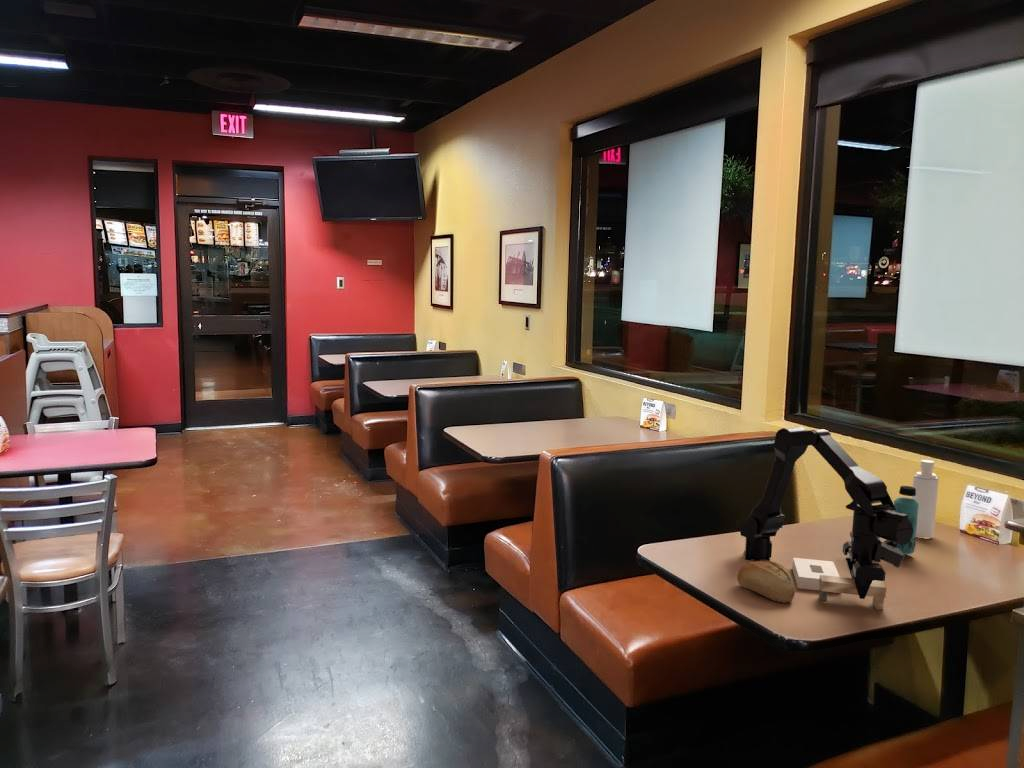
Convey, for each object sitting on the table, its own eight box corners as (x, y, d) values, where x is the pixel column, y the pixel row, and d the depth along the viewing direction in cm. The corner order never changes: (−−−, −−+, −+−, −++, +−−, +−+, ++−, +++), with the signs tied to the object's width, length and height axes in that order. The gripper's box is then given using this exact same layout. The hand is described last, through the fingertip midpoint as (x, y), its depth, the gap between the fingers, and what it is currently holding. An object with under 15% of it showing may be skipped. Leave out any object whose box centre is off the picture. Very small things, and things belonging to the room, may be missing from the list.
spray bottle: (922, 540, 228) (929, 459, 225) (903, 533, 234) (910, 454, 231) (938, 538, 231) (945, 457, 227) (919, 531, 237) (926, 452, 234)
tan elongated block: (820, 603, 181) (822, 580, 180) (818, 596, 185) (819, 574, 184) (884, 610, 178) (886, 587, 177) (880, 603, 181) (882, 581, 181)
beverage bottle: (883, 551, 218) (889, 483, 215) (906, 551, 218) (911, 483, 216) (897, 559, 211) (903, 489, 209) (919, 559, 212) (926, 489, 209)
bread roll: (750, 580, 195) (752, 550, 194) (804, 599, 183) (806, 567, 182) (727, 588, 189) (729, 558, 188) (781, 609, 177) (783, 576, 176)
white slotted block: (798, 588, 190) (798, 576, 189) (792, 568, 203) (793, 557, 203) (841, 592, 187) (841, 581, 187) (832, 572, 201) (833, 561, 200)
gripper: (913, 548, 168) (907, 615, 170) (893, 523, 185) (888, 584, 187) (858, 543, 170) (853, 609, 172) (844, 518, 188) (840, 579, 190)
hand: (860, 594), depth 181 cm, fingers open, 4 cm apart
